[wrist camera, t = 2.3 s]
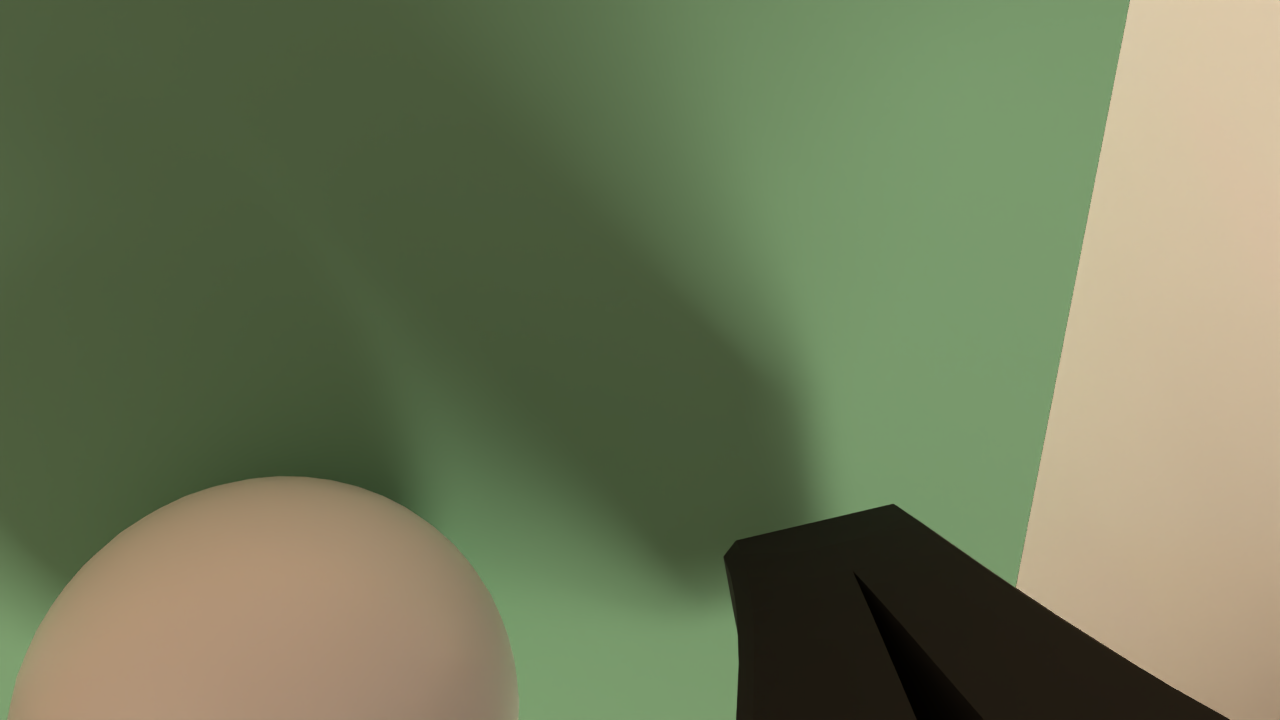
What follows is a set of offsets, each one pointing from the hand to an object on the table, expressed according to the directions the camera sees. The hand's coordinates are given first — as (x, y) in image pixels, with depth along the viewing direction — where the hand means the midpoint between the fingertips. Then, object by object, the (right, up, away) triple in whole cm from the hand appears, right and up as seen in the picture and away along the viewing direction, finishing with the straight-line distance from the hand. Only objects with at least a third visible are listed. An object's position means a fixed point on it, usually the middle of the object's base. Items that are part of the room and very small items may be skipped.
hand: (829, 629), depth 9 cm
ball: (-4, 0, -1) cm, 4 cm away
